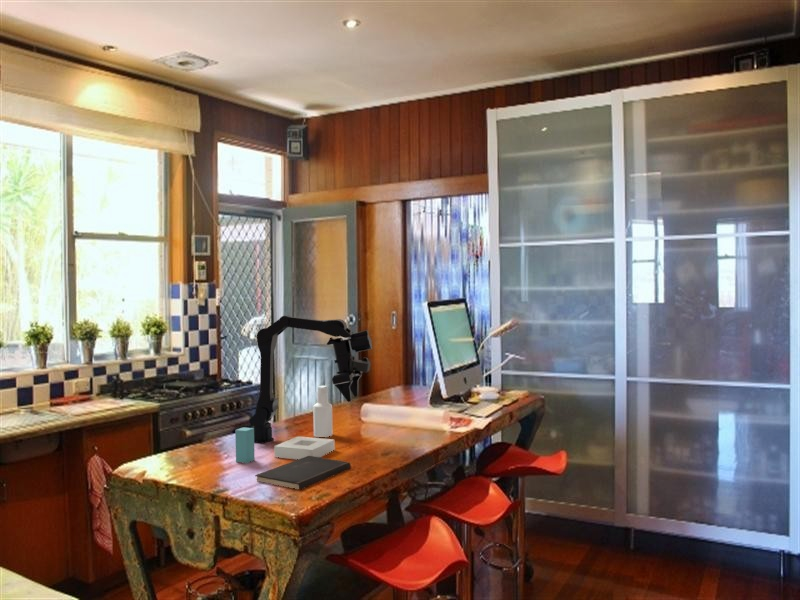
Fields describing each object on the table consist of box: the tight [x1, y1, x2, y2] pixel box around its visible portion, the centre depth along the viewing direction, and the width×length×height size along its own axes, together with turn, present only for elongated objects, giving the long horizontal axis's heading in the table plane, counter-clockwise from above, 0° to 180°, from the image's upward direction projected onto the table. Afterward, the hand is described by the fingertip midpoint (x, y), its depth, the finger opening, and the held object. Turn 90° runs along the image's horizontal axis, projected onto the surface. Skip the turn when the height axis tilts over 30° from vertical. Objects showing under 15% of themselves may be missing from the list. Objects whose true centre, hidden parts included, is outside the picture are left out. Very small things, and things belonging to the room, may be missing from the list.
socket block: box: [273, 436, 336, 460], centre depth 204 cm, size 14×14×4 cm
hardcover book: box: [254, 456, 352, 491], centre depth 181 cm, size 16×23×2 cm
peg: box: [234, 427, 256, 464], centre depth 197 cm, size 4×4×10 cm
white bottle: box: [312, 385, 334, 438], centre depth 229 cm, size 7×7×18 cm
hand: (352, 398), depth 220 cm, fingers open, 9 cm apart
